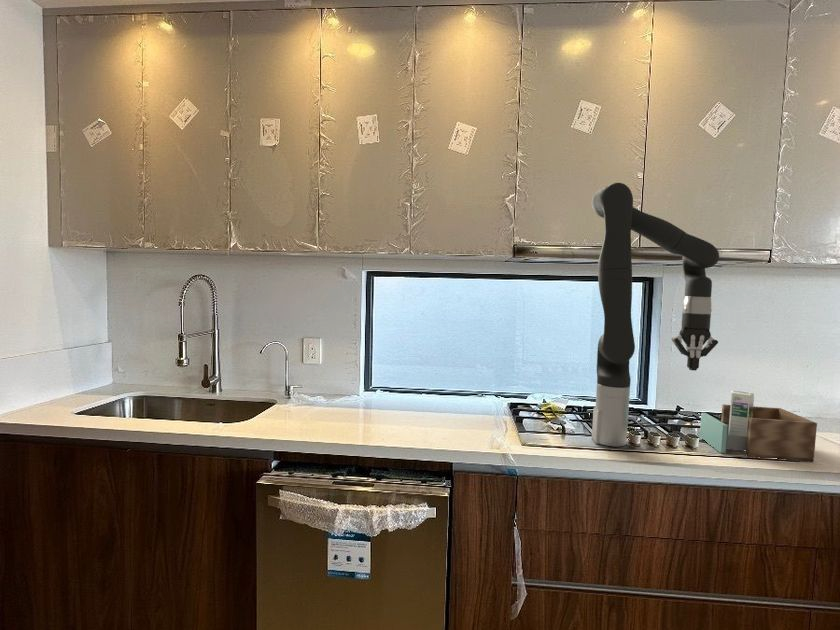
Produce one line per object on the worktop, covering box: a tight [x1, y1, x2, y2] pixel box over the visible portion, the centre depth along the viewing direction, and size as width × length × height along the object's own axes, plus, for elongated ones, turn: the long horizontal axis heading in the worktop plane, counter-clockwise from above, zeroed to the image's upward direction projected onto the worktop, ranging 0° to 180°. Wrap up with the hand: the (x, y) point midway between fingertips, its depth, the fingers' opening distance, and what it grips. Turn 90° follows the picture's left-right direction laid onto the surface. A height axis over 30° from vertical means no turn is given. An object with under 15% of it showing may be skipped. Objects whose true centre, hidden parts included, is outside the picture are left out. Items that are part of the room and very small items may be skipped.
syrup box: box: [728, 389, 755, 436], centre depth 158 cm, size 6×6×14 cm
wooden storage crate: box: [720, 404, 818, 463], centre depth 157 cm, size 17×18×11 cm
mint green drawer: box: [699, 412, 748, 454], centre depth 158 cm, size 14×15×8 cm
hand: (692, 369), depth 159 cm, fingers closed
